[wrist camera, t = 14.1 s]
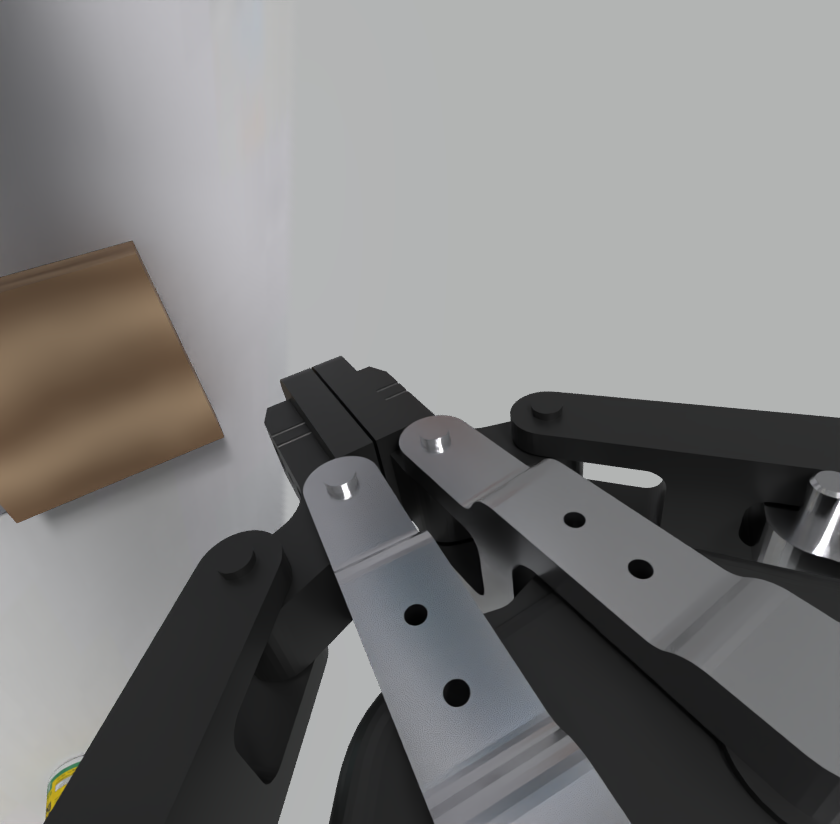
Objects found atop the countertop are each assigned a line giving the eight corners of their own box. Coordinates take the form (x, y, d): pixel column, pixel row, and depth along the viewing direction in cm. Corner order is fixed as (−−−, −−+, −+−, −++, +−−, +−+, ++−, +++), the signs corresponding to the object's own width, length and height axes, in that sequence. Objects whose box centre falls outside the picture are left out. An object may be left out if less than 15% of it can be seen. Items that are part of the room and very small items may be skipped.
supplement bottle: (117, 771, 54) (121, 873, 47) (57, 799, 52) (52, 911, 45) (103, 743, 52) (105, 847, 44) (39, 770, 49) (30, 885, 42)
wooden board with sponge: (-125, 311, 29) (-150, 335, 26) (132, 240, 34) (136, 253, 31) (22, 489, 37) (16, 523, 34) (214, 413, 42) (224, 436, 39)
